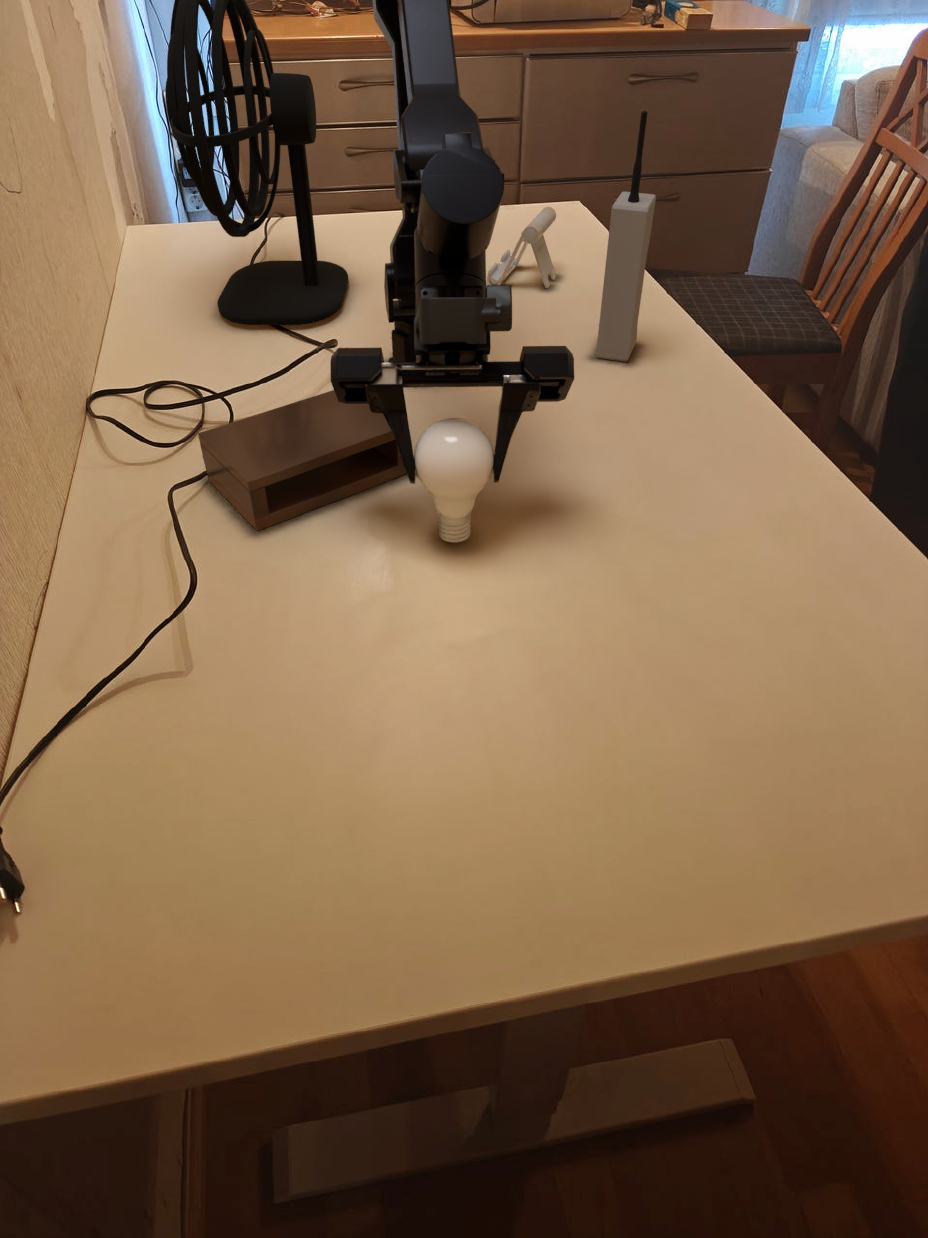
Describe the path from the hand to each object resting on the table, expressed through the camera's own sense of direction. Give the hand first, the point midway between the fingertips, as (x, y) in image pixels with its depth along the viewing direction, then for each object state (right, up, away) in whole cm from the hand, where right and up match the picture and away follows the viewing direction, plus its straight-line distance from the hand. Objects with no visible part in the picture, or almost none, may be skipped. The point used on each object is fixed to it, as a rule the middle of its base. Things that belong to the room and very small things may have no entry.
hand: (454, 482), depth 69 cm
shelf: (-14, +2, +13) cm, 19 cm away
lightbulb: (0, -4, +6) cm, 7 cm away
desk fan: (-23, +31, +45) cm, 60 cm away
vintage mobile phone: (+19, +20, +33) cm, 43 cm away
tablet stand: (+9, +35, +50) cm, 62 cm away
